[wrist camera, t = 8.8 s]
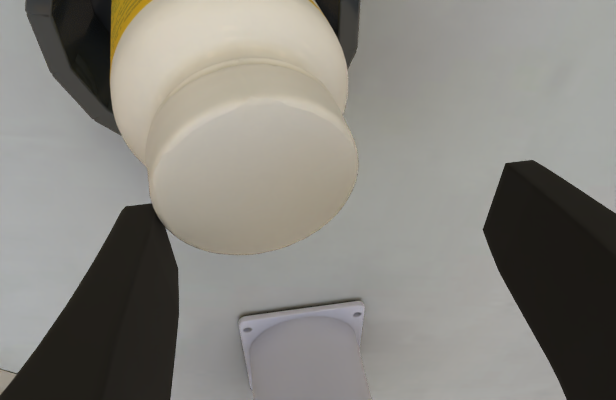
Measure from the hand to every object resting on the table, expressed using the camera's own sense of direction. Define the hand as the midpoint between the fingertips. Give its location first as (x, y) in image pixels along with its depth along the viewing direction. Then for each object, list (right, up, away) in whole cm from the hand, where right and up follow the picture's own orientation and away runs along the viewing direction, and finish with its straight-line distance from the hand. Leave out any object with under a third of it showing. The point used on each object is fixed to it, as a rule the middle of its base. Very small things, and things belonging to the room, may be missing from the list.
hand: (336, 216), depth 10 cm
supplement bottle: (-4, +8, +6) cm, 10 cm away
